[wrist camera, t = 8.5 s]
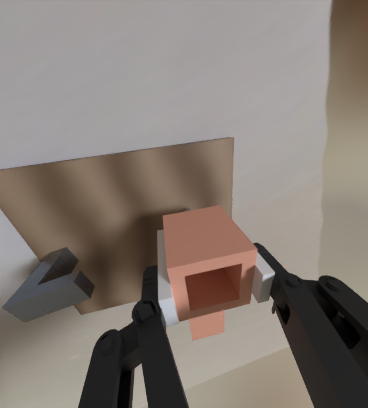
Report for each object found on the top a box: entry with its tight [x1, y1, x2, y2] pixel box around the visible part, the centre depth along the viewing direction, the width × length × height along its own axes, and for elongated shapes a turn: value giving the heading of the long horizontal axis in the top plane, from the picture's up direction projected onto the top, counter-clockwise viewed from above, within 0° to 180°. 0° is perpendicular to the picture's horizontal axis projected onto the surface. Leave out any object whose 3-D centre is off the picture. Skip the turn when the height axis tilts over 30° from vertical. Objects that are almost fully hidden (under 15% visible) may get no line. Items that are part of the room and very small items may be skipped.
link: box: [163, 205, 258, 340], centre depth 15 cm, size 16×5×6 cm, turn 7°
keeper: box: [2, 247, 95, 322], centre depth 16 cm, size 6×2×7 cm, turn 107°
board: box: [0, 137, 234, 315], centre depth 20 cm, size 24×22×1 cm
